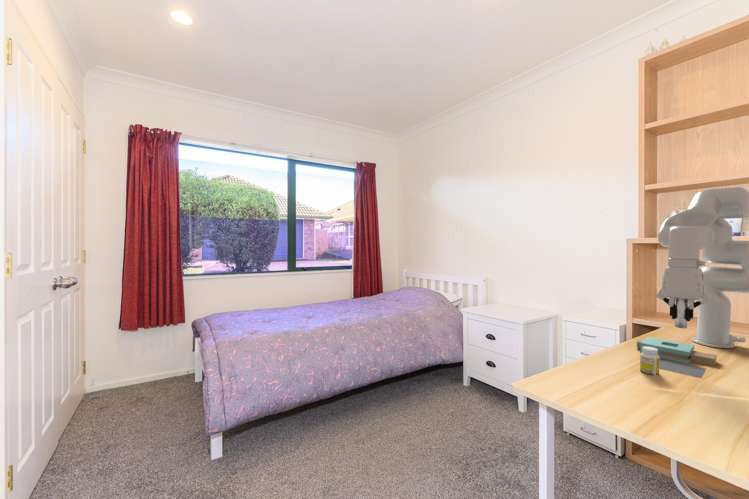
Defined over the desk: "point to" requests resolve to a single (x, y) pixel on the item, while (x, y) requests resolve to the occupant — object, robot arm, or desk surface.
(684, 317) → the steel pin
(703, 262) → the robot arm
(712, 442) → the desk surface
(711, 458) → the desk surface
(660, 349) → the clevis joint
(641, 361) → the supplement bottle
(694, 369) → the rubber mat
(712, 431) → the desk surface
